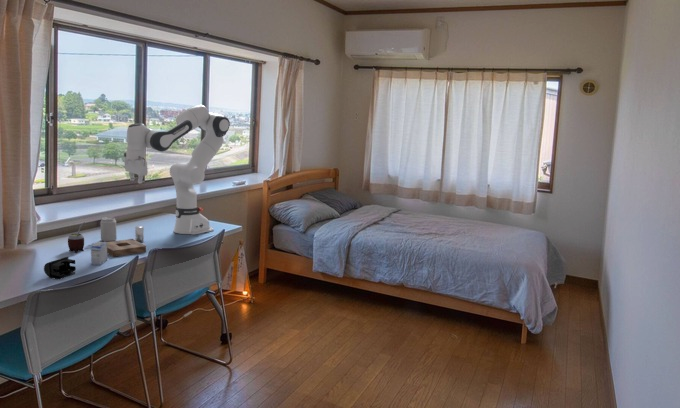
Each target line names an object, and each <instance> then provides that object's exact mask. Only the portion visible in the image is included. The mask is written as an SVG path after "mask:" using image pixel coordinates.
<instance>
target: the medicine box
mask: <svg viewBox="0 0 680 408" xmlns="http://www.w3.org/2000/svg"><path fill="white" fill-rule="evenodd" d="M90 257H91V258H90V260H91V261H90V262H91V263H90V264H91V265H92V266H93V265H94V266H101V265H102V264H104V263H105V262H106V261H107V260H108V253H107V242H103V241H97V242H95V243H93V244H92V245H91V247H90Z"/></svg>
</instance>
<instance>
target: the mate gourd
mask: <svg viewBox="0 0 680 408" xmlns="http://www.w3.org/2000/svg"><path fill="white" fill-rule="evenodd" d="M85 223H86V222H82V223H81V224H80V225H79V227H78V230H77V233H71V234H70V235H69V236H68V238H67V245H68V249H69V250H68V252H74V253H76V254H77V253H78V252H83V251H84V247H85V237H84V235H83V234H82V233H80V230H81V228H82V226H83V225H84V224H85Z"/></svg>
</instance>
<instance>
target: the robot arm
mask: <svg viewBox="0 0 680 408" xmlns="http://www.w3.org/2000/svg"><path fill="white" fill-rule="evenodd" d="M175 120H176V121H175V122H176V125H175V126H173V127H172V128H170V129H168V130H165V131H160V130H159V131H158V130H154V129H152V128H149V127H147V126H146V125H145V124H144V123H141V122H140V123H132V124H129V125H128V127H127V130H126V142H127V145H126V146H127V147H126V152H124V153H123V158H124V161H123V162H124V170H125V171H126V172H128V175H129V181H130V182H134V181H135V179H136V177H135V175H137V176H138V179H137V184H143V179H144V177H145V176H147V175H148V171H149V169H148V163H147V160H146V149H151V150H155V151H158V152H166V151H168V150H169V149H170V148H171V146H172V145H173V144H174V143H175V142H177V141H178V140H179V139H181V138H182V137H184V136H186V135H187V134H189V133H190V132H192V131H193V130H195V129H197V128H199V129H200V130H202V131H204V132H206V133H205V136H204V137H203V138H202V140H200V142H199V143H198V144H197V145H196V146H195V148H194V149H193V150H192V151H191V156H190V157H191V158H190V160H189V161H188V162H187V163H185V162H175V163H173V164H172V165H171V166H170V167H169V175H170V177H171V178H172V181H173V184H174V188H175V197H176V207H175V223H174V227H173V233H176V234H181V235H193V236H194V235H200V234H203V233H210V232H213V231H214V230H215V229H214V228H213V227H212V226H210V221H209V219H208V218H207V217H206V216H204V215H203V214H201V212H202V213H203V211H204V209H203V208H202V207H198V204H197V203H198V201H197V200H198V194H197V191H196V189H195V188H194V185H200V184H202V182H204V181H205V175H206V173H205V172H206V171H205V170H206V169H207V166H208V165H209V163H210V162H211V161H212V160H213V158H214V157H215V156H216V155H217V154H218V152H219V151H220V149H221V147H222V146H223V144H224V142H225V141H224V136H225V135H226V134H227V133H228V131H229V128H230V125H231V123H230V119H229V118H228V117H226V116H225V115H223V114H218V113H215V112H214V113H213V112H210V111H209V109H208V108H207V107H206V106H205V105H203V104H199V105H194V106H192V107H190V108H187V109H185V110H183V111H181V112H180V113H179V114H177V115H176V119H175Z"/></svg>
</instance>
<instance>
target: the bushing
mask: <svg viewBox="0 0 680 408" xmlns="http://www.w3.org/2000/svg"><path fill="white" fill-rule="evenodd" d="M134 229H135V230H134V234H135V235H134V237H135V238H134V240H136V241H138V242H140V243H141V244H143V243H145V241H144V237H145V236H144V235H145V234H144V226H143V225H135V227H134Z"/></svg>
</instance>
